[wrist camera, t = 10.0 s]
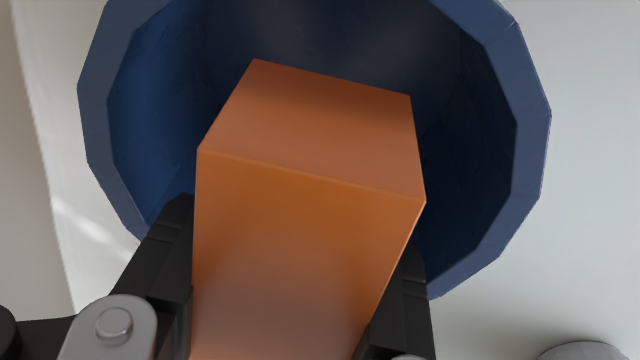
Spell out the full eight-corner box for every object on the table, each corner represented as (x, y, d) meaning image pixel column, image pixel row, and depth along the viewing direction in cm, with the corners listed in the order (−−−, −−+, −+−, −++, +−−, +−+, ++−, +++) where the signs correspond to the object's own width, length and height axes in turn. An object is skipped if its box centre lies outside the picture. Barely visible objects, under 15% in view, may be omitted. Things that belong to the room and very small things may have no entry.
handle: (248, 54, 8) (188, 145, 6) (415, 95, 9) (435, 202, 6) (220, 303, 13) (180, 417, 10) (328, 326, 13) (317, 445, 11)
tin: (198, -148, 15) (39, -159, 8) (535, -58, 16) (671, 7, 9) (188, 145, 23) (102, 275, 16) (417, 198, 23) (437, 348, 16)
